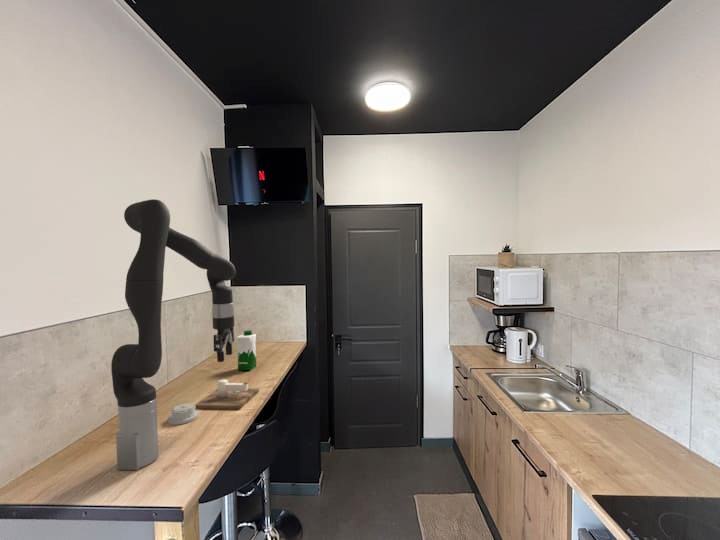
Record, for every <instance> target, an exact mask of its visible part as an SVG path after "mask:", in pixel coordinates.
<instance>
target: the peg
mask: <svg viewBox="0 0 720 540" xmlns="http://www.w3.org/2000/svg"><path fill="white" fill-rule="evenodd" d="M216 384H217V389H218V397H226V396H228V391H247V390H248V388H249V383H248V382H229V380H228V379H227V378H226V379H220V380H217V382H216Z"/></svg>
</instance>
